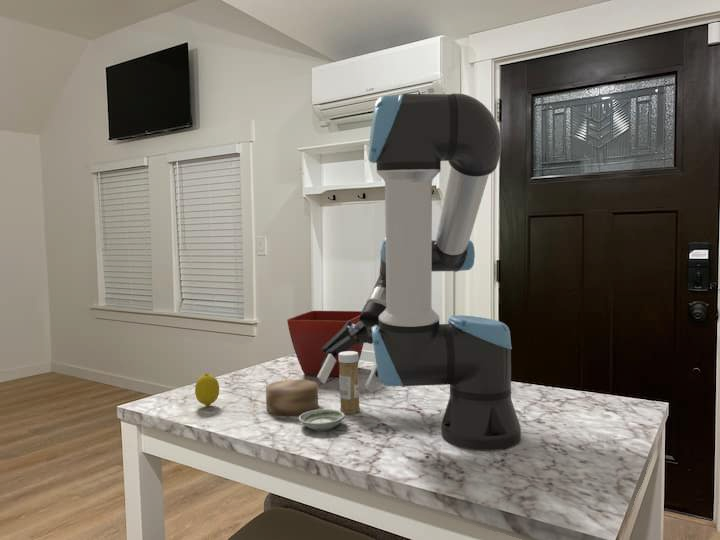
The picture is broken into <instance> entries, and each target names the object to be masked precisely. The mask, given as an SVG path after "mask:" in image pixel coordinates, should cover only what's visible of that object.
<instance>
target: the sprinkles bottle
mask: <svg viewBox="0 0 720 540" xmlns="http://www.w3.org/2000/svg"><path fill="white" fill-rule="evenodd" d="M358 361H359V362H360V359H359V354H358V352H355V351H344V352H340V353H339V364H340V375H339V376H338V377H339V397H340V410H339V411H341V412H343V413H344V414H349V415H350V414H355V413H358V412H359V411H360V410H361V409H360V408H361V407H360V388H359V387H360V384H359V381H360V380H359V362H358Z"/></svg>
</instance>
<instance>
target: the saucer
mask: <svg viewBox="0 0 720 540" xmlns="http://www.w3.org/2000/svg"><path fill="white" fill-rule="evenodd" d="M344 419H345V413H343V412H341V411H340V410H337V409H333V408H332V409H331V408H321V409H316V410H312V411H308V412H305V413H303V414H301V415H298V421H299V422H300V423H301V424H302V425H303V426H305V428H306V427H307V428H309V429H311V430H313V431H318V432H320V431H323V432H324V431H329V430H331V429H333V428H335V426H337V425H339V424H340V423H341V422H342V421H344Z"/></svg>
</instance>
